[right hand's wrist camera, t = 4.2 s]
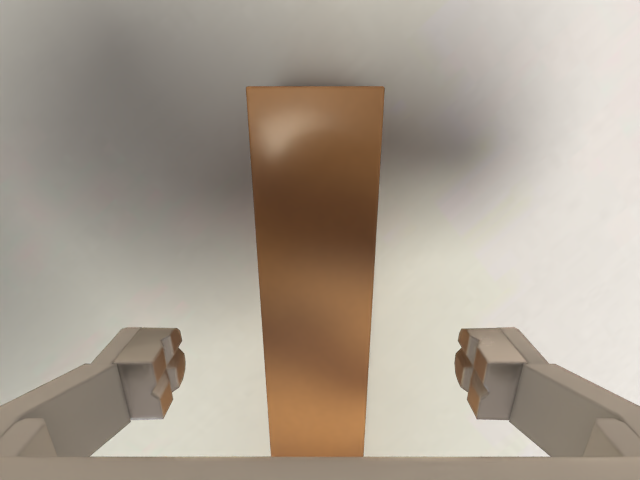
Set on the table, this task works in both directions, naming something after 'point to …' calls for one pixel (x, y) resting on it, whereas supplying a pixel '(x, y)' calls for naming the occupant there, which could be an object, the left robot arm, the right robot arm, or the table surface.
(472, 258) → the table surface
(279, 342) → the post
